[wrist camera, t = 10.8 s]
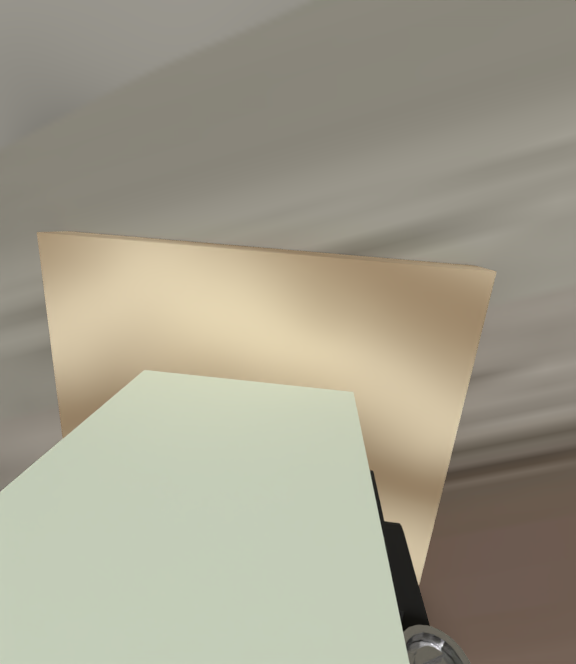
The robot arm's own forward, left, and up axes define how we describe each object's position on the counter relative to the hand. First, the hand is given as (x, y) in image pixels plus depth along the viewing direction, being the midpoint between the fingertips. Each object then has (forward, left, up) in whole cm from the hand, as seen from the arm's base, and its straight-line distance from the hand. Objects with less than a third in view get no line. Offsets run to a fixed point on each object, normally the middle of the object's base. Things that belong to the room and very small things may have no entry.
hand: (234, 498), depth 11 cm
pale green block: (0, 0, -1) cm, 1 cm away
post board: (0, 0, -4) cm, 4 cm away
